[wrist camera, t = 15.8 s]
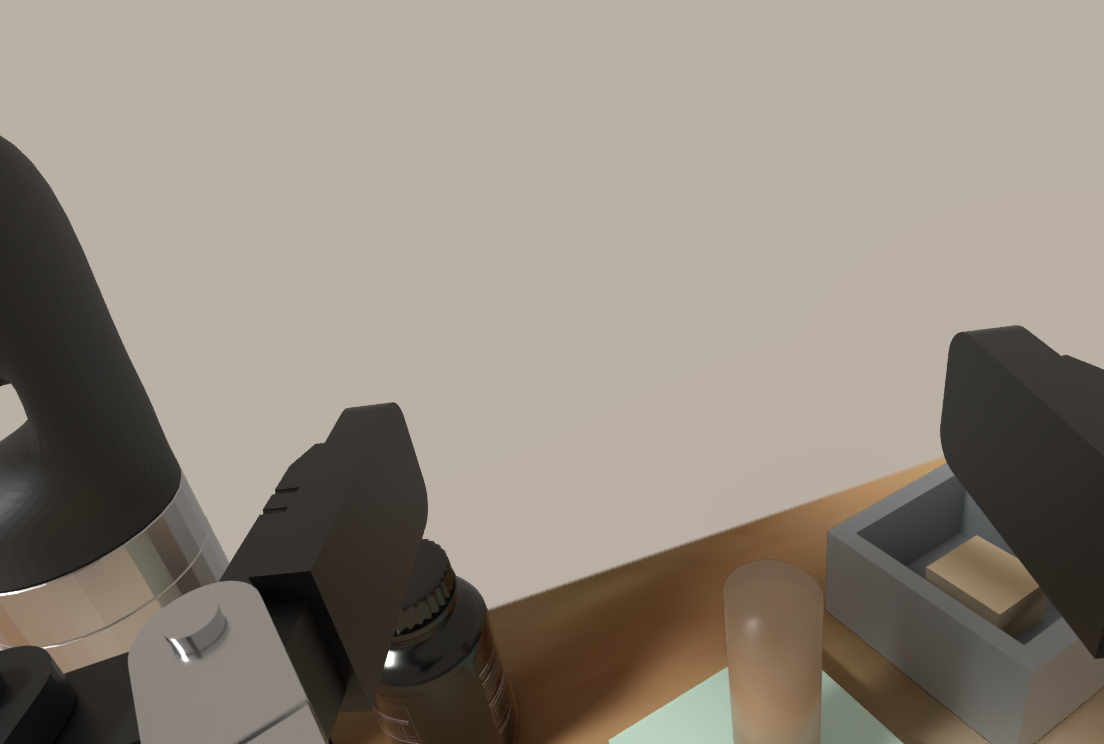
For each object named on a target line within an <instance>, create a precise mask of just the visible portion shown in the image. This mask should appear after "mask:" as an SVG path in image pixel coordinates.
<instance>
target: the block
mask: <svg viewBox="0 0 1104 744" xmlns="http://www.w3.org/2000/svg"><path fill="white" fill-rule="evenodd" d="M925 580H927V581H928V582H930V583H931V584H933V585H934V586H936V587H937V588H939V589H940V590H942V591H943V592H945V593H946V594H948V595H949V596H951V597H952V598H954V599H955V600H957V601H958V602H960V603H961V604H963V605H964V606H966V607H967V608H969V609H970V610H972V611H974V612H975V613H977V614H978V615H980V616H981V617H983V618H984V619H986V620H987V621H989V622H990V623H992V624H993V625H995V626H996V627H998V628H999V629H1001V630H1002V631H1004V632H1005V633H1007V634H1008V635H1010V636H1011V637H1013V638H1014V639H1017V638H1018V637H1019V636H1021V635H1022V634H1024V633H1025V632H1026V631H1028V630H1029V629H1030V628H1032V627H1033V626H1034V625H1036V624H1037V623H1039V622H1040V621H1041V620H1042V619H1043V615H1044V610H1045V606H1046V601H1047V596H1046V595H1045V593H1044V592H1043V591H1042V589H1041V588H1040V587H1039V585H1038V584H1037V583H1036V581H1035V580H1034V579H1033V577H1032V576H1031V575H1030V573H1029V572H1028V571H1027V570H1026V568H1025V567H1024V566H1023V564H1022V563H1021V562H1020V560H1019V559H1018V558H1016V557H1014V556H1013V555H1011V554H1009V553H1007V552H1006V551H1004V550H1002V549H1000V548H998V547H997V546H995V545H993V544H991V543H990V542H988V541H986V540H984V539H983V538H981V537H979V536H977V535H976V536H974V537H973V538H971V539H970V540H968V541H967V542H965V543H963V544H962V545H960V546H959V547H957V548H956V549H954V550H952V551H951V552H949V553H948V554H946V555H945V556H943V557H941V558H940V559H938V560H937V561H935V562H934V563H932V564H930V565H929V566H927V567H926V575H925Z"/></svg>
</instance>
